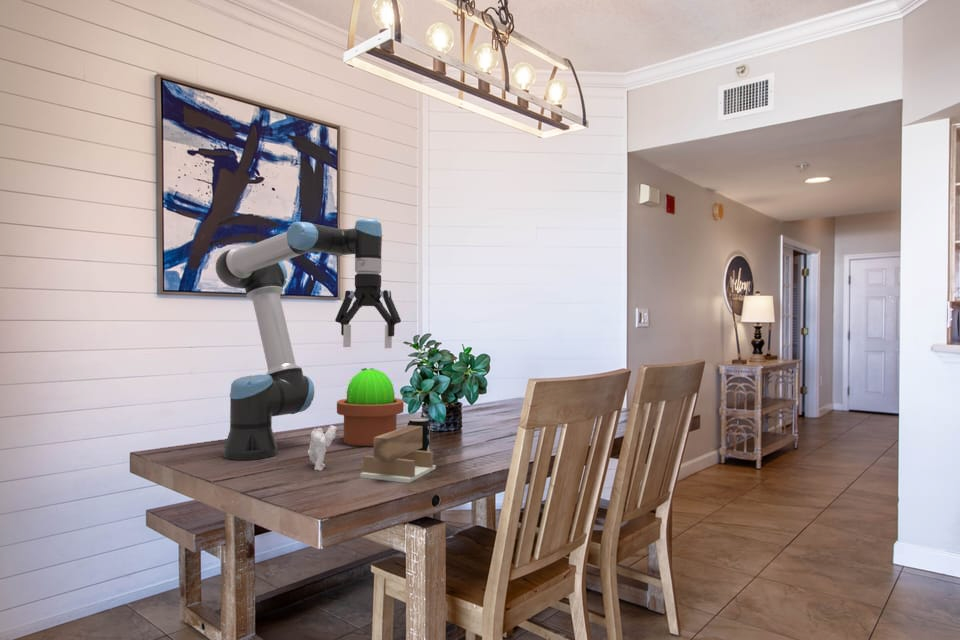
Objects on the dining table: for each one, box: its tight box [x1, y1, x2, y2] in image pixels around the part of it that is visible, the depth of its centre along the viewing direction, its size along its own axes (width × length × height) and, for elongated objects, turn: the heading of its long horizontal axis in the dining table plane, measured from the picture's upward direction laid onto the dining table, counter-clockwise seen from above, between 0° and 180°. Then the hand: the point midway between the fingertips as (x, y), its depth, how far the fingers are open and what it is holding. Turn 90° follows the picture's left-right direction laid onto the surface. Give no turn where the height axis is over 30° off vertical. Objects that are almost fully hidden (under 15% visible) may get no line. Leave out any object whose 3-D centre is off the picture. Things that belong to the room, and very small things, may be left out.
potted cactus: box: [336, 367, 405, 447], centre depth 204 cm, size 22×22×25 cm
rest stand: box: [359, 450, 437, 484], centre depth 162 cm, size 14×16×5 cm
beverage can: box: [407, 417, 431, 452], centre depth 177 cm, size 7×7×12 cm
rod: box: [372, 425, 423, 463], centre depth 162 cm, size 4×20×6 cm, turn 160°
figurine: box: [307, 425, 338, 472], centre depth 166 cm, size 10×5×12 cm, turn 52°
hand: (367, 347), depth 175 cm, fingers open, 13 cm apart
